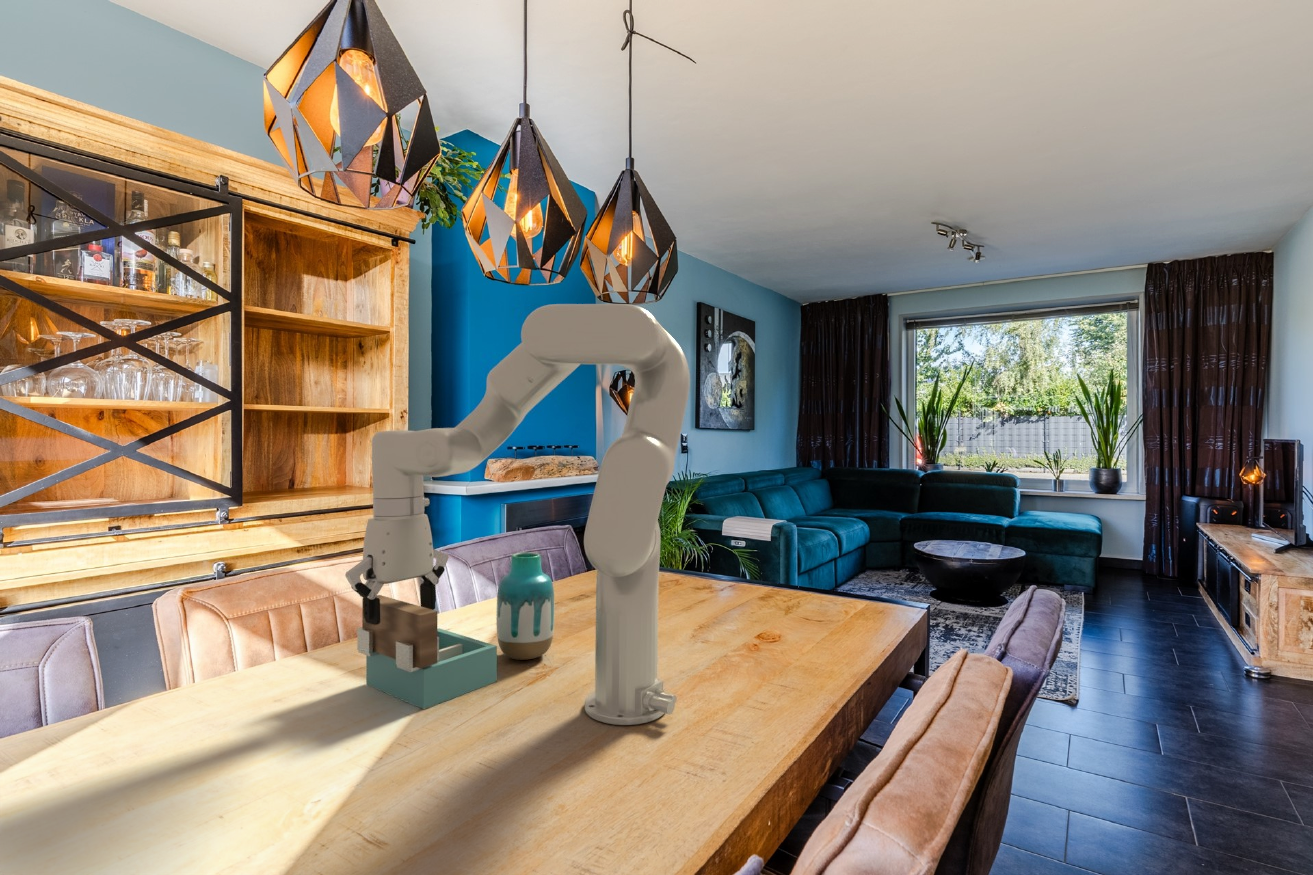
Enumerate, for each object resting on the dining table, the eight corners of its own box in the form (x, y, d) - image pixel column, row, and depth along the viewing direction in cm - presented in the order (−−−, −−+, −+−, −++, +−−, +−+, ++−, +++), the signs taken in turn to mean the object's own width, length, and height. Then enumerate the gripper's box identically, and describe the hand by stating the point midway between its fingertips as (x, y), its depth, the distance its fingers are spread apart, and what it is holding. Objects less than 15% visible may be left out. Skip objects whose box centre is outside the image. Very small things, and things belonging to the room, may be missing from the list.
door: (362, 646, 108) (362, 598, 108) (379, 642, 111) (379, 594, 111) (420, 668, 99) (420, 615, 99) (437, 662, 101) (437, 610, 101)
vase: (483, 661, 121) (484, 556, 120) (521, 644, 130) (522, 547, 130) (530, 671, 116) (530, 562, 115) (565, 653, 125) (566, 552, 125)
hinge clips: (439, 662, 103) (439, 637, 103) (409, 672, 98) (409, 646, 98) (386, 644, 111) (386, 620, 111) (357, 652, 107) (357, 627, 107)
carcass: (496, 681, 111) (496, 645, 111) (423, 709, 100) (423, 669, 100) (438, 660, 120) (439, 628, 120) (366, 684, 109) (366, 648, 109)
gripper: (431, 501, 114) (434, 600, 114) (332, 512, 100) (335, 625, 100) (459, 503, 109) (461, 606, 109) (359, 515, 95) (362, 633, 95)
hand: (401, 615), depth 105 cm, fingers open, 9 cm apart
